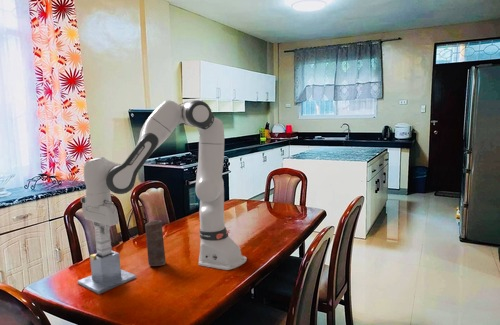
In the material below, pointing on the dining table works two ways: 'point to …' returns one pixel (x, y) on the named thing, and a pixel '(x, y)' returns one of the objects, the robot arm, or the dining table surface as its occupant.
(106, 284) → the stand
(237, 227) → the dining table surface
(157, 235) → the grey upright block
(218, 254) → the robot arm
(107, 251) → the column
